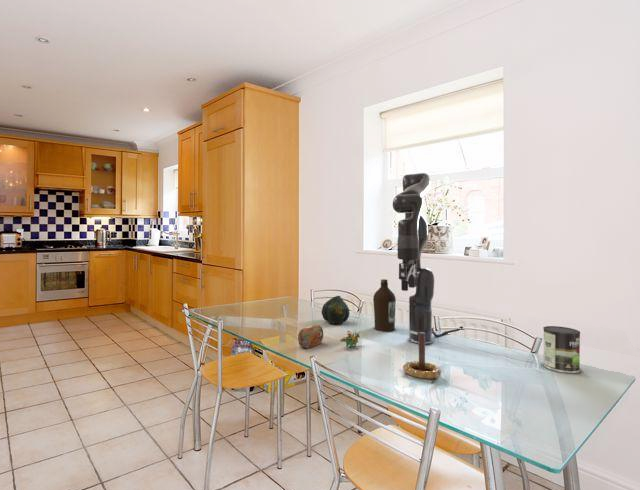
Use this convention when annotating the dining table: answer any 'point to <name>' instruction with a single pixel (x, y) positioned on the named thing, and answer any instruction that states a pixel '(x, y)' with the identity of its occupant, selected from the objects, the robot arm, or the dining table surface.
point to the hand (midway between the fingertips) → (408, 289)
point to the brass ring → (431, 374)
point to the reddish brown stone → (310, 336)
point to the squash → (335, 310)
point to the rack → (422, 353)
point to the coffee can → (562, 349)
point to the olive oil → (384, 308)
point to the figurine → (351, 339)
